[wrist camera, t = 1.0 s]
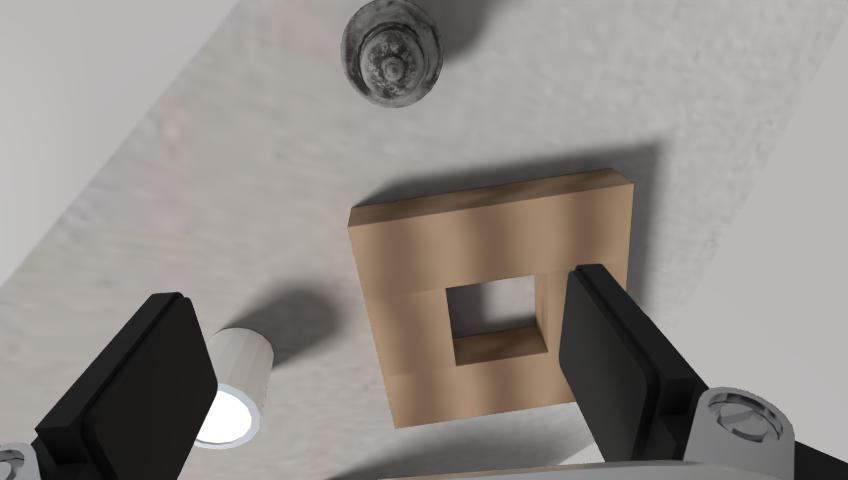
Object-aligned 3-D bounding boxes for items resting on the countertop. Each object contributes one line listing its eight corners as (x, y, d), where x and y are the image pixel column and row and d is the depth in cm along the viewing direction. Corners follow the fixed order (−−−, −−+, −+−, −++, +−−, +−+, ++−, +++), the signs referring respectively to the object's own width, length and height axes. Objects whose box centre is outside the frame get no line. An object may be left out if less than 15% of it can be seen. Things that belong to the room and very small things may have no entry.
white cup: (246, 395, 41) (220, 463, 35) (182, 353, 38) (141, 418, 32) (297, 354, 39) (280, 418, 33) (234, 307, 37) (201, 366, 30)
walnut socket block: (611, 168, 33) (634, 183, 30) (600, 367, 42) (617, 395, 39) (351, 207, 33) (347, 227, 30) (394, 398, 42) (395, 428, 39)
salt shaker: (453, 27, 29) (490, 33, 18) (414, 113, 31) (426, 164, 20) (367, -19, 27) (351, -44, 16) (332, 74, 29) (298, 106, 19)
